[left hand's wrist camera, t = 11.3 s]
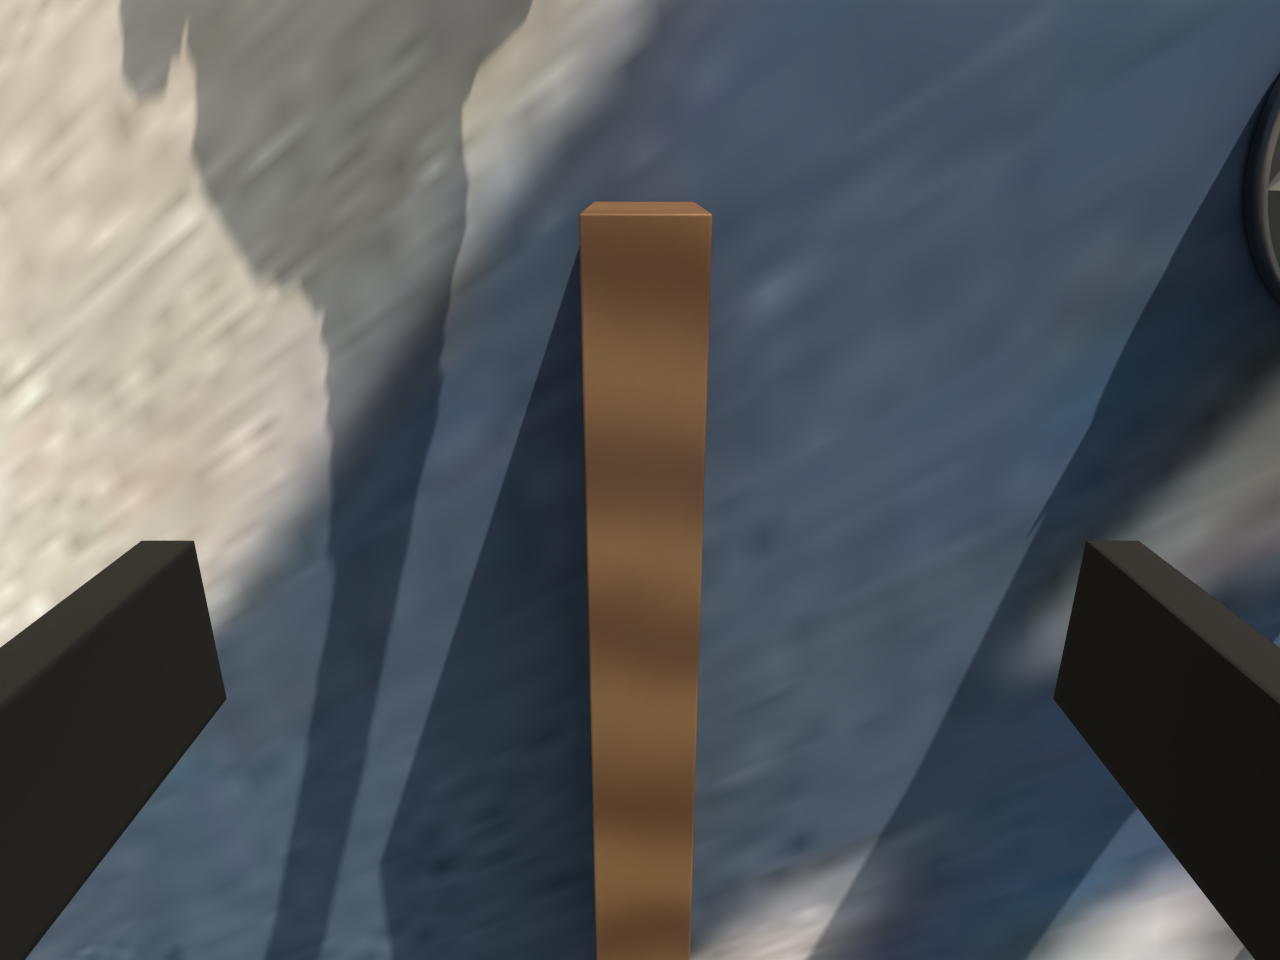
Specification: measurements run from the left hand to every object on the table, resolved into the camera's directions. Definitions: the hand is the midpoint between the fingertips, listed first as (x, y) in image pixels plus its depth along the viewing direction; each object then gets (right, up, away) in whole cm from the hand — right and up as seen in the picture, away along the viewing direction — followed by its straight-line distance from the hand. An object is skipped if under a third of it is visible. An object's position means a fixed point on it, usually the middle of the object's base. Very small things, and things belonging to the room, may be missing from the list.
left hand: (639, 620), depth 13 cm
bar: (0, -20, +33) cm, 38 cm away
